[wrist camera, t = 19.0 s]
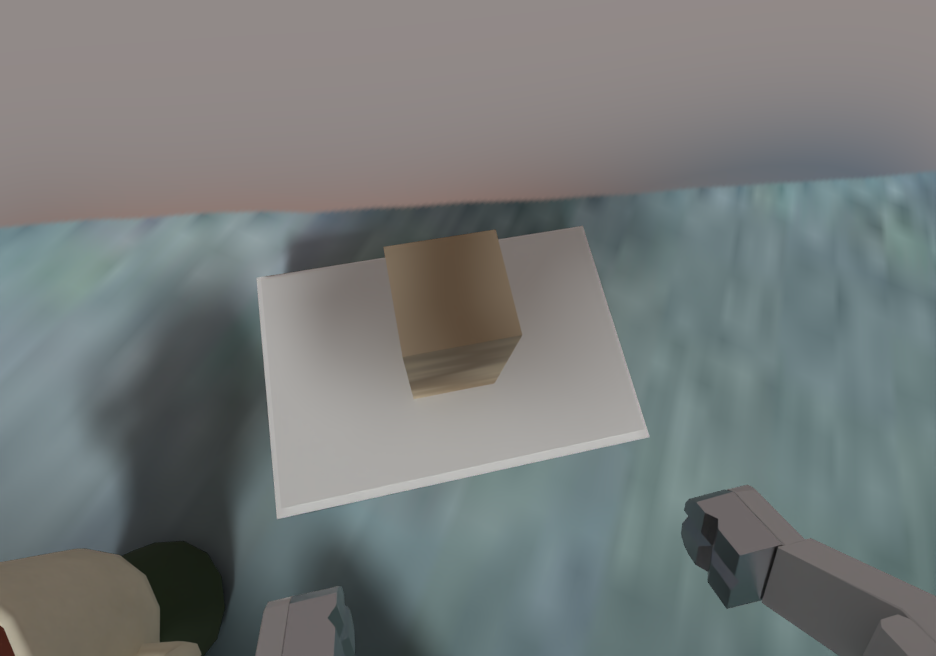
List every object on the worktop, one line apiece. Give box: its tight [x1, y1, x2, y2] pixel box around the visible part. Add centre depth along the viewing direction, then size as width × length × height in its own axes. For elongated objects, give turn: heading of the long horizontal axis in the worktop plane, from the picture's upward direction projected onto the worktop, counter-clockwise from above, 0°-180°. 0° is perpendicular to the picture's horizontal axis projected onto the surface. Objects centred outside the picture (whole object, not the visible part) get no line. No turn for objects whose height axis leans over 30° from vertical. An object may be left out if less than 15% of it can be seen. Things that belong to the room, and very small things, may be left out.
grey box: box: [257, 226, 649, 519], centre depth 26 cm, size 18×12×5 cm, turn 102°
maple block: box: [384, 230, 522, 399], centre depth 20 cm, size 4×4×8 cm
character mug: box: [0, 541, 225, 656], centre depth 18 cm, size 11×7×13 cm, turn 92°
